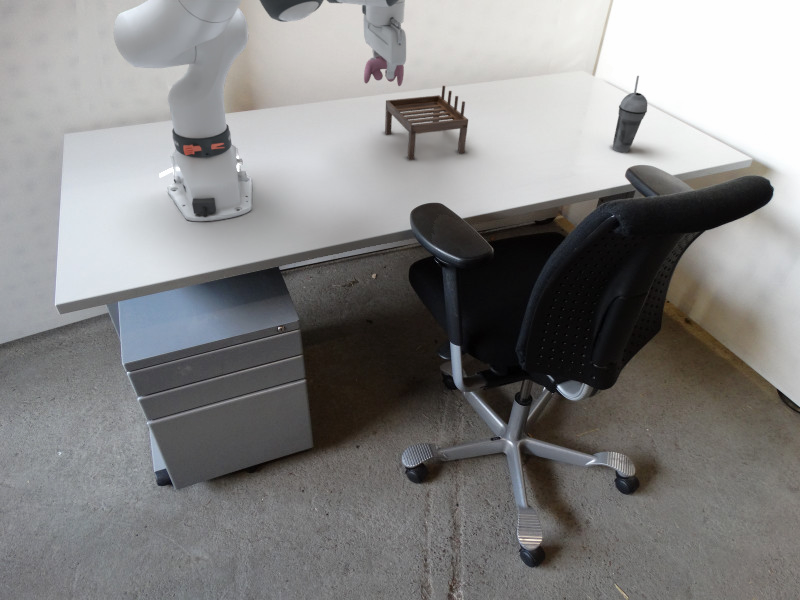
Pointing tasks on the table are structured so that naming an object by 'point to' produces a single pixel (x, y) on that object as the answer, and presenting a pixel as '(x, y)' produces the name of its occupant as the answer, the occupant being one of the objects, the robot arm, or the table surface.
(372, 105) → the table surface
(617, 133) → the beverage cup
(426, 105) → the rack
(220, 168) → the robot arm
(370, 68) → the video game controller
